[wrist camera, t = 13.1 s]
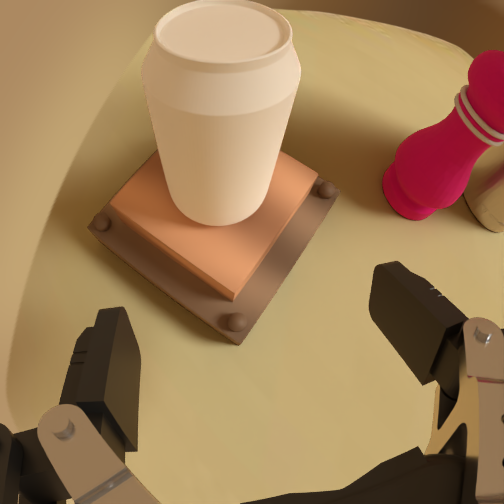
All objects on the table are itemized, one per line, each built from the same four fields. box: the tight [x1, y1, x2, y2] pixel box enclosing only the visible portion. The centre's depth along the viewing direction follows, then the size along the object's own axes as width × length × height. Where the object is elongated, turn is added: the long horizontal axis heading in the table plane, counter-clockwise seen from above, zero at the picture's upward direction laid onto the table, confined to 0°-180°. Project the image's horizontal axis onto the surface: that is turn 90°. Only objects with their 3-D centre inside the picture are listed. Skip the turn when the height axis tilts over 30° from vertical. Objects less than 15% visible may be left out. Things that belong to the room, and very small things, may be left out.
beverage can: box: [141, 0, 301, 226], centre depth 15 cm, size 6×6×12 cm
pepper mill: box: [382, 50, 504, 220], centre depth 20 cm, size 7×7×20 cm
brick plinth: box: [87, 149, 341, 346], centre depth 23 cm, size 14×14×6 cm
